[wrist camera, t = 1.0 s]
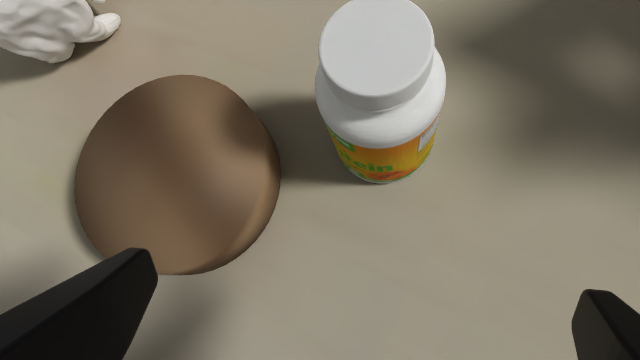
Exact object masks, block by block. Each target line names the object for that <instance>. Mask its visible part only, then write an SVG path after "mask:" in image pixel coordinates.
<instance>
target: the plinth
mask: <svg viewBox="0 0 640 360" xmlns="http://www.w3.org/2000/svg"><path fill="white" fill-rule="evenodd" d="M280 178H281V170H280V161H279V156H278V152H277V149H276V146H275V143H274V141H273V139H272V137H271V135H270V133H269V132H268V130H267V129H266V127H265V126H264V125H263V123H262V122H261V121H260V120H259V119H258V117H257V116H256V115H255V114H254V113H253V111H252V110H251V109H250V108H249V107H248V105H247V104H246V103H245V102H244V101H243V100H242V99H241V98H240V97H239V96H238V95H237V94H236V93H235V92H234V91H232V90H231V89H229V88H228V87H226V86H225V85H223V84H221V83H219V82H217V81H214V80H211V79H208V78H205V77H200V76H194V75H175V76H167V77H163V78H158V79H155V80H153V81H150V82H147V83H145V84H143V85H141V86H138V87H136V88H135V89H133V90H132V91H130V92H128V93H127V94H125V95H124V96H123V97H121V98H120V99H119V100H118V101H116V102H115V103H114V104H113V105H112V106H111V107H110V108H109V109H108V110H107V111H106V112H105V113H104V114H103V116H102V117H101V118H100V119H99V120H98V122H97V123H96V125H95V126H94V128H93V129H92V131H91V133H90V134H89V136H88V138H87V140H86V142H85V144H84V147H83V149H82V152H81V154H80V158H79V161H78V165H77V170H76V176H75V203H76V208H77V212H78V216H79V219H80V222H81V225H82V227H83V229H84V231H85V233H86V235H87V237H88V238H89V239H90V241H91V242H92V244H93V245H94V246H95V247H96V248H97V249H98V250H99V251H100V252H101V253H102V254H103V255H104V256H105V257H107V258H110V257H112V256H114V255H116V254H118V253H120V252H121V251H123V250H125V249H127V248H132V247H134V248H144V249H147V250H148V251H149V252H150V254H151V257H152V260H153V263H154V266H155V268H156V271H157V274H173V275H193V274H200V273H205V272H208V271H212V270H215V269H217V268H219V267H222V266H224V265H226V264H228V263H229V262H231V261H233V260H234V259H236V258H237V257H239V256H240V255H241V254H242V253H244V252H245V251H246V250H247V249H248V248H249V247H250V246H251V245H252V244H253V243H254V242H255V241H256V240H257V238H258V237H259V236H260V235H261V233H262V232H263V230H264V229H265V227H266V225H267V224H268V222H269V220H270V218H271V216H272V214H273V211H274V209H275V206H276V203H277V199H278V195H279V189H280Z"/></svg>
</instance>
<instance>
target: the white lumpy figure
mask: <svg viewBox="0 0 640 360" xmlns="http://www.w3.org/2000/svg"><path fill="white" fill-rule="evenodd" d="M91 1H93V2H95V3H99V4H102V3H105V0H91ZM120 22H121V19H120V17H119V16H118V15H117V14H115V13H106V14H102V15H98V16H95V17H94V15H93V12H92V9H91V8H90V6H89V4H88V3H87V2H86V0H0V47H1V48H4V49H6V50H8V51H10V52H13V53H15V54H18V55H22V56H27V57H33V58H36V59H38V60H41V61H47V62H49V63H56V62H62V61H65V60H67V59H68V58H70V57H71V55H72V53H73V49H74V47H75V44H74V43H73V42H79V43H84V42H95V41H101V40H104V39H106V38H108V37H110V36H111V35H112V34H113V33H114V32H115V30H116V29H118V28H119V25H120V24H121V23H120Z"/></svg>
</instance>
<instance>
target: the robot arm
mask: <svg viewBox="0 0 640 360" xmlns="http://www.w3.org/2000/svg"><path fill="white" fill-rule="evenodd" d="M157 282H158V275H157V271H156V268H155V266H154V263H153V260H152V257H151V254H150V252H149V251H148V250H147V249H144V248H134V247H132V248H127V249H125V250H123V251H121V252H120V253H118V254H116V255H114V256H112V257H110V258H108V259H106V260H104V261H102V262H100V263H98V264H97V265H95V266H93V267H91V268H89V269H87V270H85V271H83V272H81V273H79V274H77V275H75V276H74V277H72V278H70V279H68V280H66V281H64V282H62V283H60V284H58V285H56V286H54V287H52V288H51V289H49V290H47V291H45V292H43V293H41V294H39V295H37V296H35V297H33V298H31V299H29V300H28V301H26V302H24V303H22V304H20V305H18V306H16V307H14V308H12V309H10V310H8V311H6V312H5V313H3V314H1V315H0V360H122V359H123V357H124V355H125V354H126V352H127V350H128V348H129V346H130V344H131V342H132V340H133V338H134V336H135V333H136V331H137V329H138V327H139V324H140V322H141V320H142V318H143V315H144V313H145V311H146V309H147V306H148V304H149V302H150V300H151V297H152V295H153V293H154V291H155V288H156V286H157ZM572 334H573V338H574V343H575V347H576V352H577V356H578V360H640V314H639V313H637V312H636V311H635V310H634V309H632V308H631V307H630V306H629V305H627V304H626V303H625V302H624V301H622V300H621V299H620V298H619V297H617V296H616V295H615V294H613V293H612V292H610V291H605V290H594V289H586V290H584V291H583V292H582V294H581V296H580V299H579V302H578V304H577V307H576V310H575V313H574V315H573V318H572Z"/></svg>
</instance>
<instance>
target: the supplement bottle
mask: <svg viewBox="0 0 640 360" xmlns="http://www.w3.org/2000/svg"><path fill="white" fill-rule="evenodd" d="M318 53H319V60H320V64H319V66H318V69H317V73H316V78H315V97H316V102H317V105H318V109H319V111H320V114H321V116H322V118H323V120H324V122H325V124H326V127H327V129H328V132H329V134H330V136H331V138H332V140H333V143H334V145H335V147H336V150H337V152H338V154H339V156H340V158H341V160H342V162H343V163H344V165H345V166H346V167H347V168H348V169H349V170H350V171H351V172H352V173H353V174H355V175H356V176H358V177H359V178H361V179H363V180H366V181H369V182H373V183H380V184H385V183H394V182H398V181H401V180H403V179H405V178H407V177H409V176H411V175H412V174H414V173H415V172H416V171H417V170H418V169H419V168H420V167H421V166H422V165H423V164H424V162H425V161H426V159H427V157H428V155H429V153H430V151H431V148H432V145H433V141H434V137H435V133H436V129H437V125H438V121H439V117H440V113H441V109H442V105H443V101H444V96H445V89H446V73H445V68H444V64H443V61H442V59H441V56H440V54H439V53H438V51H437V49H436V48H435V47H434V34H433V30H432V26H431V24H430V22H429V20H428V18H427V16H426V15H425V14H424V12H423V11H422V10H421V9H420V8H419V7H418V6H416V5H415V4H414V3H412V2H411V1H409V0H352V1H350V2H348V3H346V4H345V5H343V6H342V7H341V8H339V9H338V10H337V11H336V12H335V13H334V14H333V15H332V16H331V17H330V19H329V20H328V21H327V23H326V24H325V26H324V28H323V30H322V33H321V36H320V40H319V48H318Z"/></svg>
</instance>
